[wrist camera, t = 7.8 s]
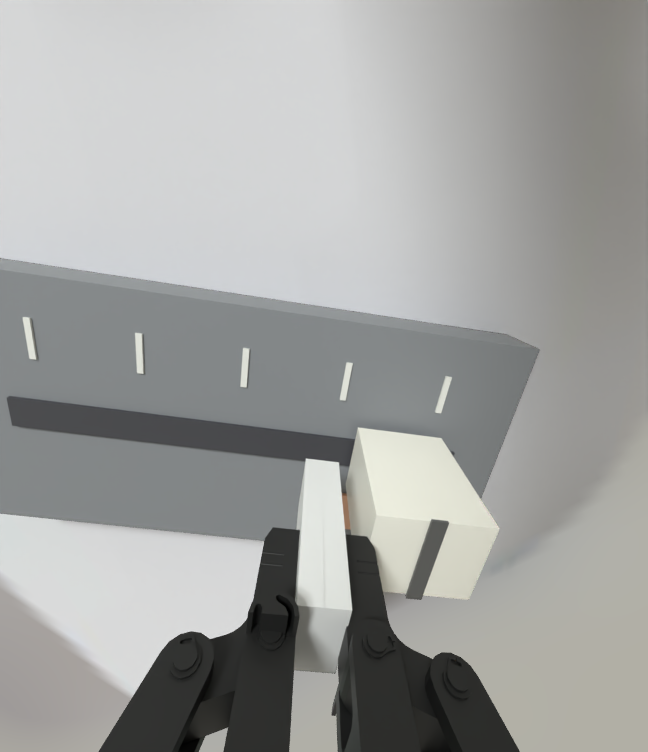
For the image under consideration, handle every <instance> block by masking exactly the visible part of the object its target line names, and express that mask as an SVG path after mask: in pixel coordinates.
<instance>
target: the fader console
mask: <svg viewBox="0 0 648 752" xmlns="http://www.w3.org/2000/svg"><path fill="white" fill-rule="evenodd" d="M539 350H540V349H537V348H535V347H533V346H531V345H529V344H527V343H524V342H522V341H520V340H518V339H516V338H514V337H511V336H509V335H506V334H500V333H493V332H487V331H480V330H473V329H467V328H460V327H453V326H447V325H440V324H433V323H427V322H420V321H414V320H407V319H400V318H394V317H387V316H380V315H374V314H367V313H360V312H354V311H347V310H340V309H334V308H327V307H321V306H314V305H307V304H301V303H294V302H287V301H281V300H274V299H267V298H261V297H254V296H248V295H241V294H234V293H228V292H221V291H214V290H208V289H201V288H194V287H188V286H181V285H174V284H168V283H161V282H155V281H148V280H141V279H135V278H128V277H121V276H115V275H108V274H101V273H95V272H88V271H81V270H75V269H68V268H62V267H55V266H48V265H42V264H35V263H28V262H22V261H15V260H8V259H2V258H0V514H9V515H19V516H29V517H38V518H48V519H58V520H67V521H77V522H87V523H96V524H106V525H116V526H125V527H135V528H145V529H154V530H164V531H173V532H183V533H193V534H202V535H212V536H222V537H231V538H241V539H251V540H260V541H265V537H266V536H267V535H268V533H269V532H270V531H271V529H272V528H273V527H275V528H285V529H294V530H296V529H297V517H298V506H299V499H300V493H301V487H302V480H303V474H304V468H305V461H306V458H307V459H315V460H323V461H331V462H339V470H340V481H341V492H342V503H343V514H344V525H345V534H348V535H351V528H350V519H349V510H348V501H347V492H346V481H347V476H348V472H349V467H350V462H351V457H352V453H353V448H354V443H355V439H356V434H357V429H358V427H359V428H367V429H374V430H382V431H390V432H398V433H406V434H413V435H421V436H429V437H437V438H442V440H443V441H444V443H445V444H446V446H447V448H448V449H449V451H450V452H451V454H452V455H453V457H454V458H455V460H456V462H457V463H458V465H459V466H460V468H461V469H462V471H463V472H464V474H465V476H466V477H467V479H468V480H469V482H470V483H471V485H472V487H473V488H474V490H475V491H476V493H477V494H478V496H479V497H480V499H481V497H482V494H483V492H484V489H485V487H486V484H487V482H488V479H489V477H490V474H491V472H492V469H493V467H494V464H495V462H496V459H497V456H498V454H499V451H500V449H501V446H502V444H503V441H504V439H505V436H506V434H507V431H508V429H509V426H510V424H511V421H512V419H513V416H514V413H515V411H516V408H517V406H518V403H519V401H520V398H521V396H522V393H523V391H524V388H525V386H526V383H527V381H528V378H529V375H530V373H531V370H532V368H533V365H534V363H535V360H536V358H537V355H538V353H539Z"/></svg>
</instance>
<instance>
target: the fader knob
mask: <svg viewBox="0 0 648 752" xmlns="http://www.w3.org/2000/svg"><path fill="white" fill-rule="evenodd" d="M346 492H347V501H348V510H349V519H350V528H351V535H357V536H367V537H368V538H369V540H370V542H371V543H372V545H373V547H374V548H375V552H376V557H377V565H378V568H379V573H380V574H379V576H380V579H381V584H382V590H383V592H391V593H401V594H406V595H405V596H406V598H408V599H419V600H421V599H422V596H433V597H443V598H453V599H454V598H455V599H464V600H469V598H470V596H471V593H472V591H473V589H474V587H475V585H476V582H477V580H478V578H479V575H480V573H481V571H482V569H483V566H484V564H485V562H486V559H487V557H488V555H489V553H490V550H491V548H492V546H493V543H494V541H495V539H496V537H497V534H498V532H499V530H500V529H499V527H498V525H497V524H496V522H495V521H494V519H493V518H492V516H491V515H490V513H489V511H488V510H487V508H486V507H485V505H484V504H483V502H482V501H481V499H480V497H479V496H478V494H477V493H476V491H475V490H474V488H473V487H472V485H471V483H470V482H469V480H468V479H467V477H466V476H465V474H464V472H463V471H462V469H461V468H460V466H459V465H458V463H457V462H456V460H455V458H454V457H453V455H452V454H451V452H450V451H449V449H448V448H447V446H446V444H445V443H444V441H443V440H442V438H437V437H429V436H421V435H413V434H406V433H398V432H390V431H382V430H374V429H367V428H359V427H358V429H357V434H356V439H355V443H354V448H353V453H352V457H351V462H350V467H349V472H348V476H347V481H346Z"/></svg>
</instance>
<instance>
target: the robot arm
mask: <svg viewBox="0 0 648 752" xmlns="http://www.w3.org/2000/svg"><path fill="white" fill-rule="evenodd" d="M379 574H380V573H379V568H378V565H377V557H376V552H375V548H374V547H373V545H372V543H371V542H370V540H369V538H368V537H367V536H357V535H348V534H345V525H344V514H343V503H342V492H341V481H340V470H339V462H331V461H323V460H315V459H307V458H306V461H305V468H304V474H303V480H302V487H301V493H300V499H299V506H298V517H297V529H296V530H294V529H285V528H275V527H273V528H272V529H271V531H270V532H269V533H268V535H267V536H266V537H265V541H264V546H263V552H262V557H261V562H260V567H259V573H258V578H257V583H256V589H255V594H254V599H253V602H252V604H251V606H250V609H249V612H248V618H247V620H246V621H245V622H244V623H243V624H242V626H241V627H239V628H238V629H237V630H235V631H234V632H232V633H229V634H227V635H224V636H220V637H216V638H213V639H209V638H208V637H206V636H205V635H203V634H202V633H198V632H187V633H184V634H180V635H178V636H177V637H175V638H174V639H172V640H171V641H169V643H168V644H167V645H166V646H165V647H164V649H163V650H162V651H161V652H160V654H159V656H158V657H157V659H156V660H155V662H154V664H153V665H152V667H151V668H150V670H149V672H148V673H147V675H146V676H145V678H144V680H143V681H142V683H141V684H140V686H139V688H138V689H137V691H136V693H135V694H134V696H133V697H132V699H131V701H130V702H129V704H128V705H127V707H126V709H125V710H124V712H123V713H122V715H121V717H120V718H119V720H118V721H117V723H116V725H115V726H114V728H113V729H112V731H111V733H110V734H109V736H108V737H107V739H106V741H105V742H104V744H103V745H102V747H101V749H100V750H99V752H199V750H200V747H201V745H202V742H203V740H204V738H205V736H206V735H209V734H212V733H214V732H217V731H219V730H222V729H225V728H227V727H228V731H227V737H226V742H225V747H224V752H289V744H290V726H291V709H292V693H293V675H294V670H297V671H310V672H322V673H334V674H335V673H336V670H337V666H338V675H339V685H338V688H337V692H336V695H335V699H334V703H333V708H332V715H334V716H335V715H336V714H337V741H338V742H337V743H338V752H519V749H518V748H517V746H516V744H515V742H514V740H513V739H512V737H511V735H510V733H509V731H508V730H507V728H506V726H505V724H504V722H503V721H502V719H501V717H500V716H499V713H498V712H497V710H496V708H495V706H494V704H493V703H492V701H491V699H490V697H489V695H488V694H487V692H486V690H485V688H484V686H483V685H482V683H481V681H480V679H479V677H478V676H477V674H476V673H475V672H474V670H473V669H472V667H471V666H470V665H469V664H468V663H467V662H465V661H464V660H463V659H462V658H461V657H459V656H457V655H454V654H452V653H440V654H438V655H436V656H435V657H434V659H431V658H429V657H427V656H425V655H422V654H420V653H418V652H416V651H414V650H412V649H410V648H409V647H407V646H405V645H404V644H403V643H402V642H401V641H400V640H399V639H398V638H397V636H396V635H395V634H394V632H393V630H392V629H391V627H390V624H389V621H388V617H387V611H386V606H385V600H384V595H383V590H382V584H381V579H380V576H379Z"/></svg>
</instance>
